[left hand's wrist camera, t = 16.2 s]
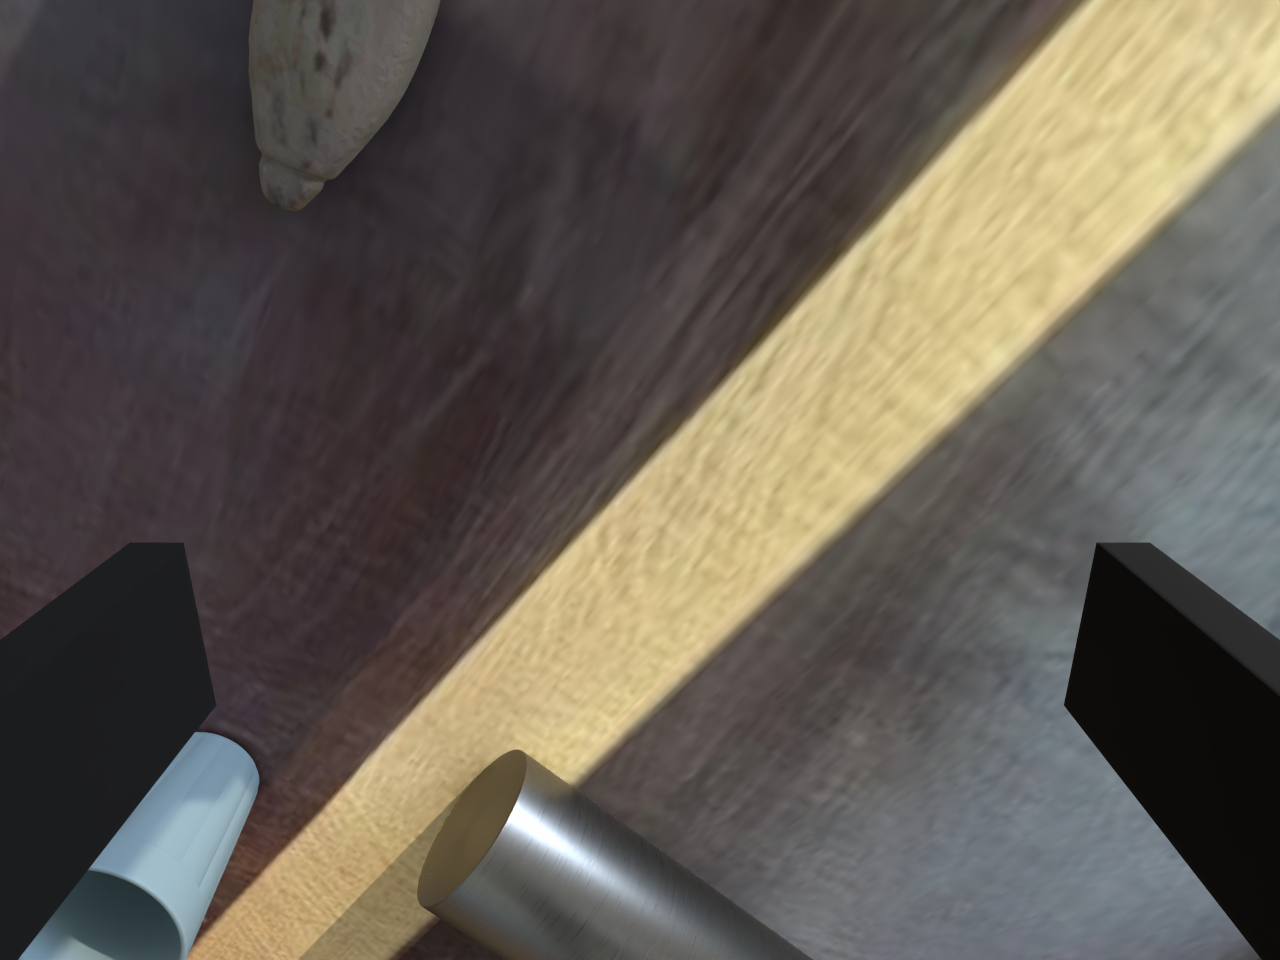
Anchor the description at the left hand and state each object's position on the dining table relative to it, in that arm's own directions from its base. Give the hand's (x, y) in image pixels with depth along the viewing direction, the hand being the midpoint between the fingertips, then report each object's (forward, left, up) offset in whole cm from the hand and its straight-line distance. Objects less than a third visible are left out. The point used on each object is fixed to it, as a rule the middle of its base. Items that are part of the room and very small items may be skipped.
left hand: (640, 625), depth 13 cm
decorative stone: (-12, -11, -27) cm, 31 cm away
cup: (+24, -23, -27) cm, 43 cm away
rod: (+32, 0, -27) cm, 42 cm away
